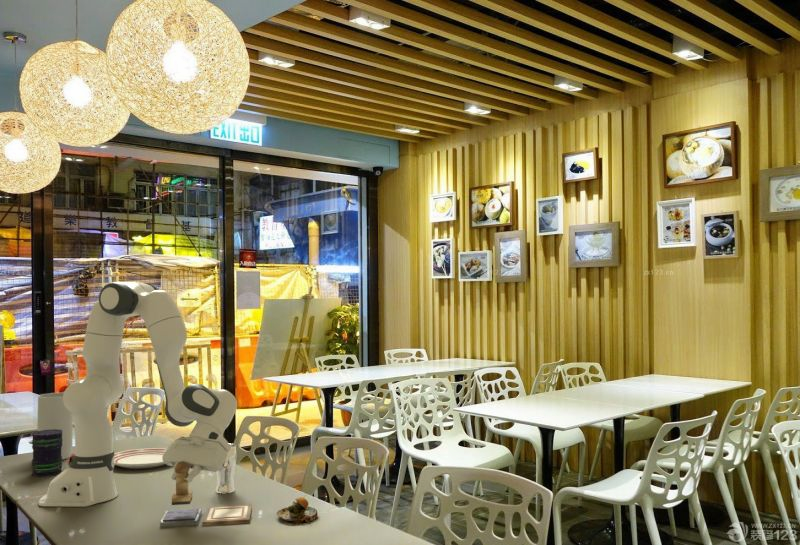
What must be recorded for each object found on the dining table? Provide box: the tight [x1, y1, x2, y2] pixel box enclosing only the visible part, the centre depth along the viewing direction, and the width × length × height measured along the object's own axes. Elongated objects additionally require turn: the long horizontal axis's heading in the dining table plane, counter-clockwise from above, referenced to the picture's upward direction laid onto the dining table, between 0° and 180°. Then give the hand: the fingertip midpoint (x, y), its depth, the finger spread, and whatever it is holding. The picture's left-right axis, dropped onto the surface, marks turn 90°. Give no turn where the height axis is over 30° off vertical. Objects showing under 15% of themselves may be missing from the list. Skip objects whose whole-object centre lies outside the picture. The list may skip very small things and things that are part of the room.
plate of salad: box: [276, 491, 318, 525], centre depth 195 cm, size 12×12×8 cm
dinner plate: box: [114, 447, 168, 470], centre depth 258 cm, size 28×27×3 cm
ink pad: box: [159, 508, 202, 528], centre depth 192 cm, size 10×10×2 cm
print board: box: [201, 504, 253, 527], centre depth 195 cm, size 13×13×1 cm
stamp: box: [171, 461, 193, 506], centre depth 192 cm, size 5×5×12 cm
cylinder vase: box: [36, 392, 74, 461], centre depth 266 cm, size 12×12×25 cm
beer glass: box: [215, 443, 237, 495], centre depth 221 cm, size 7×7×15 cm
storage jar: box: [31, 429, 63, 478], centre depth 243 cm, size 10×10×15 cm
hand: (180, 480), depth 192 cm, fingers closed on stamp, 3 cm apart
